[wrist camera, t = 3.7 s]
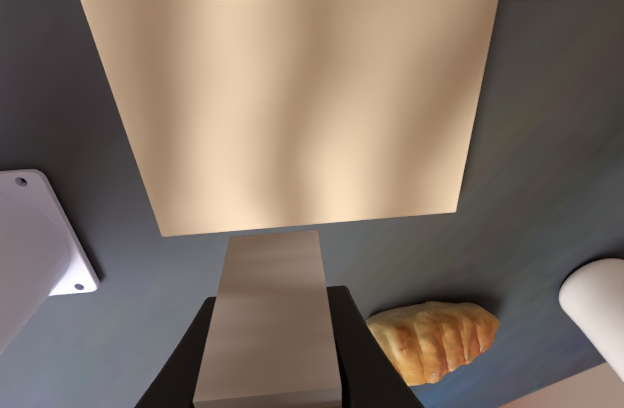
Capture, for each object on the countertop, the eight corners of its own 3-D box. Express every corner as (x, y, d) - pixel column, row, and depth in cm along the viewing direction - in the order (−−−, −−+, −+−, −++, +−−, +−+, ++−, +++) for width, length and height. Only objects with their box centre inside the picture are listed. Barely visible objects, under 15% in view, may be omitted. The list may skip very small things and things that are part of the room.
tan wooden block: (245, 311, 12) (224, 492, 7) (230, 237, 10) (190, 413, 6) (320, 304, 12) (342, 479, 7) (317, 230, 10) (343, 398, 6)
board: (168, 224, 19) (162, 236, 18) (-41, -419, 9) (-84, -476, 8) (446, 201, 19) (455, 212, 18) (560, -421, 9) (594, -475, 8)
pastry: (485, 277, 23) (518, 322, 20) (487, 335, 27) (515, 381, 24) (355, 313, 24) (367, 361, 21) (374, 365, 28) (386, 413, 24)
